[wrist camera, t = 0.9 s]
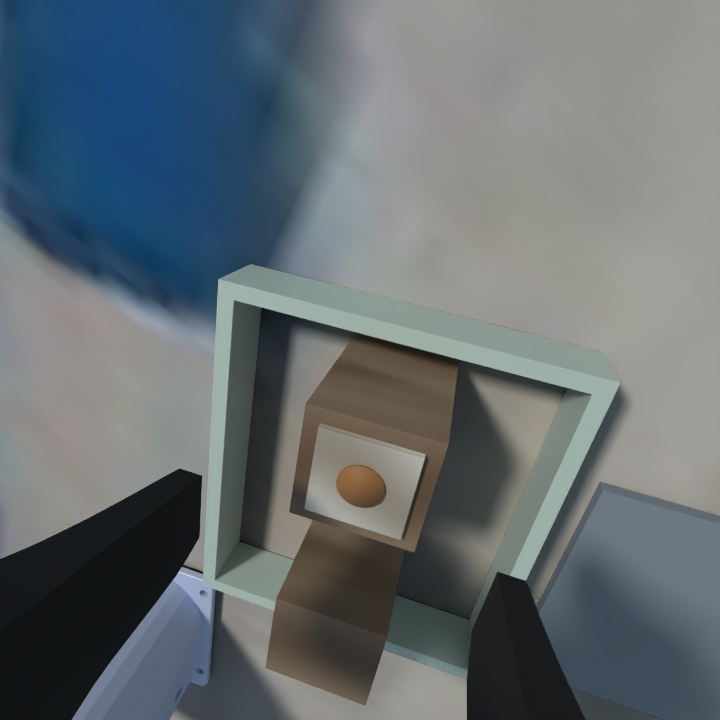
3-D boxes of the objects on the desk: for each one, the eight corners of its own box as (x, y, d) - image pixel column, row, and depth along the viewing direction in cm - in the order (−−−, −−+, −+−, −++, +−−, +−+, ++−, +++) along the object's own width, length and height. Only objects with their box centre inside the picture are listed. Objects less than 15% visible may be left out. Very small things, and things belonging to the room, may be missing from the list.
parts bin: (477, 631, 23) (476, 683, 21) (228, 546, 25) (202, 585, 23) (602, 351, 16) (620, 382, 14) (251, 264, 18) (218, 279, 16)
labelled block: (433, 443, 20) (412, 560, 14) (341, 417, 20) (286, 518, 14) (459, 357, 18) (448, 451, 12) (357, 331, 18) (302, 408, 13)
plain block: (393, 577, 23) (365, 705, 18) (315, 551, 24) (265, 667, 18) (411, 515, 21) (387, 637, 16) (327, 489, 22) (276, 598, 16)
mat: (752, 740, 22) (758, 752, 21) (510, 656, 23) (511, 666, 23) (917, 573, 17) (929, 584, 16) (600, 481, 18) (603, 490, 18)
